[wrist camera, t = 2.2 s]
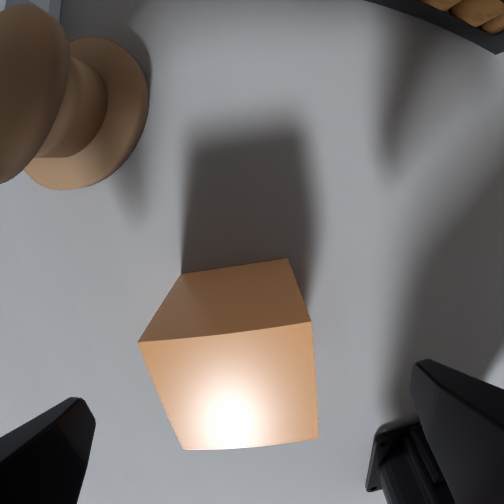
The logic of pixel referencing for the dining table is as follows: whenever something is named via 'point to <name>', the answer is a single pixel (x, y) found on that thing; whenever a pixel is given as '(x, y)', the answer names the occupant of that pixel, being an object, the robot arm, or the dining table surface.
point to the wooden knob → (65, 102)
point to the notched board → (50, 6)
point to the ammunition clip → (460, 18)
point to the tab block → (235, 358)
